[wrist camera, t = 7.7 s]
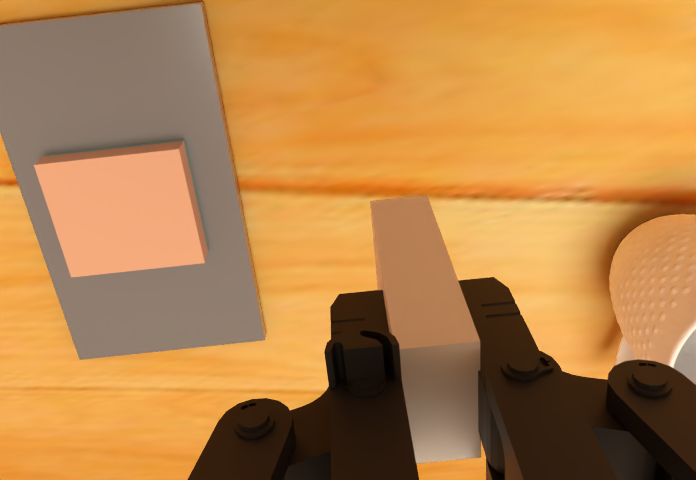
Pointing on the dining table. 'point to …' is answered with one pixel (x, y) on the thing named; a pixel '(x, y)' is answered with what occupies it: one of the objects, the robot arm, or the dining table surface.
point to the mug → (657, 293)
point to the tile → (124, 207)
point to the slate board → (129, 129)
